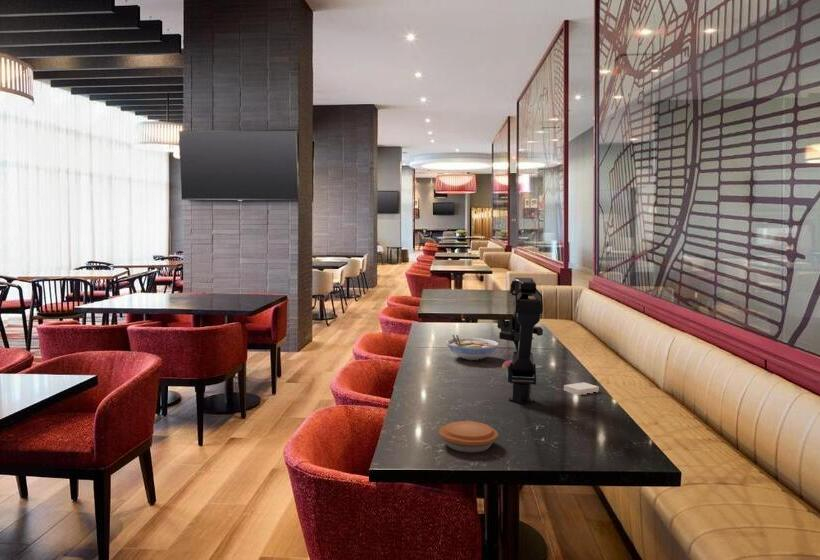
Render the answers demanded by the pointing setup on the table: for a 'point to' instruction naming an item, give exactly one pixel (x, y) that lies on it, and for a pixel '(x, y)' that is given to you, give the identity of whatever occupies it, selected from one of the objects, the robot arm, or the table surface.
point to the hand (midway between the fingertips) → (520, 357)
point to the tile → (581, 388)
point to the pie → (468, 436)
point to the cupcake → (506, 366)
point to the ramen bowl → (471, 347)
